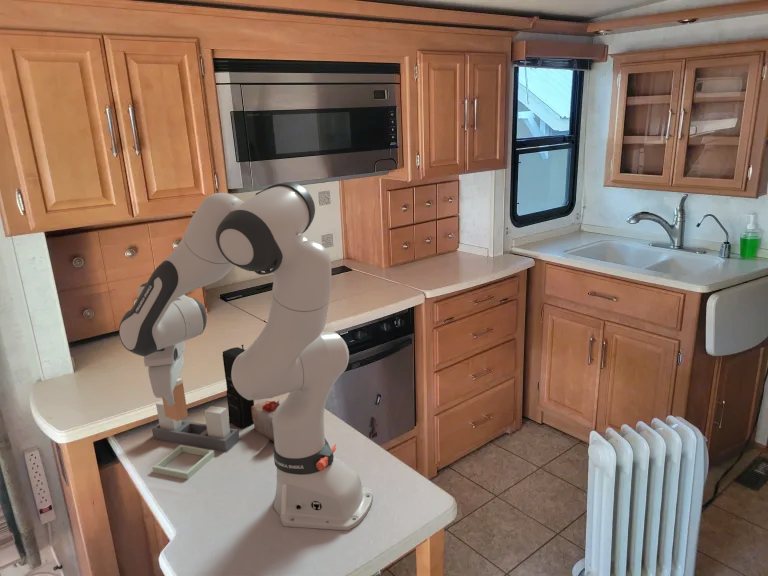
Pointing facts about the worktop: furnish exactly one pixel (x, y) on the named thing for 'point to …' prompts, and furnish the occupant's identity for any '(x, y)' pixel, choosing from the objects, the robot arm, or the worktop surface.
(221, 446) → the fuse block
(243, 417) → the portable radio
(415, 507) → the worktop surface
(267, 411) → the food item
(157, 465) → the tray
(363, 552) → the worktop surface
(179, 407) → the block
